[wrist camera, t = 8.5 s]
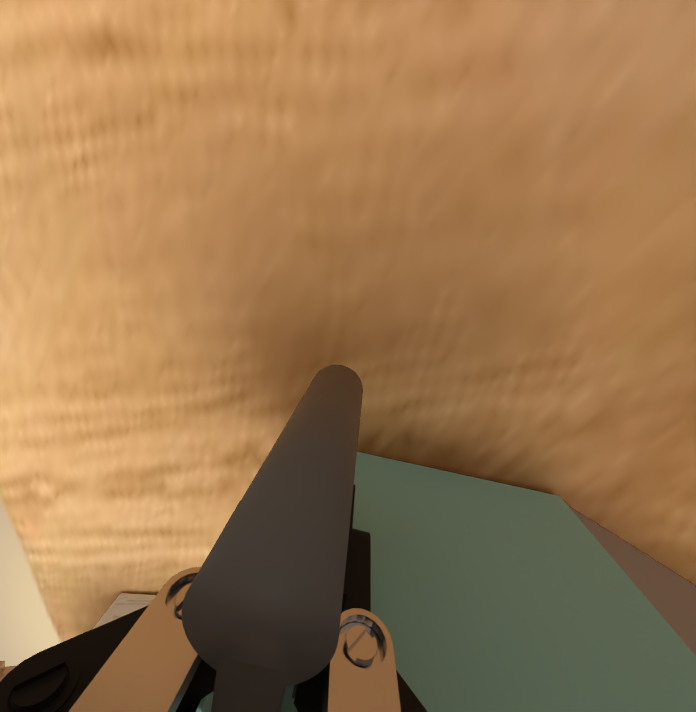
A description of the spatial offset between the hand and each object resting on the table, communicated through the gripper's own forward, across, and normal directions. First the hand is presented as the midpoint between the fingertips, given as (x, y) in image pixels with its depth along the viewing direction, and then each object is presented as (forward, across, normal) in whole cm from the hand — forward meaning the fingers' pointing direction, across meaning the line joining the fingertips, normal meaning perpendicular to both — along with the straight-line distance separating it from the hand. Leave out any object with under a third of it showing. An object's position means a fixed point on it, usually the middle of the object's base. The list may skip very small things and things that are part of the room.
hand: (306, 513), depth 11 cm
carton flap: (+10, -7, -1) cm, 12 cm away
